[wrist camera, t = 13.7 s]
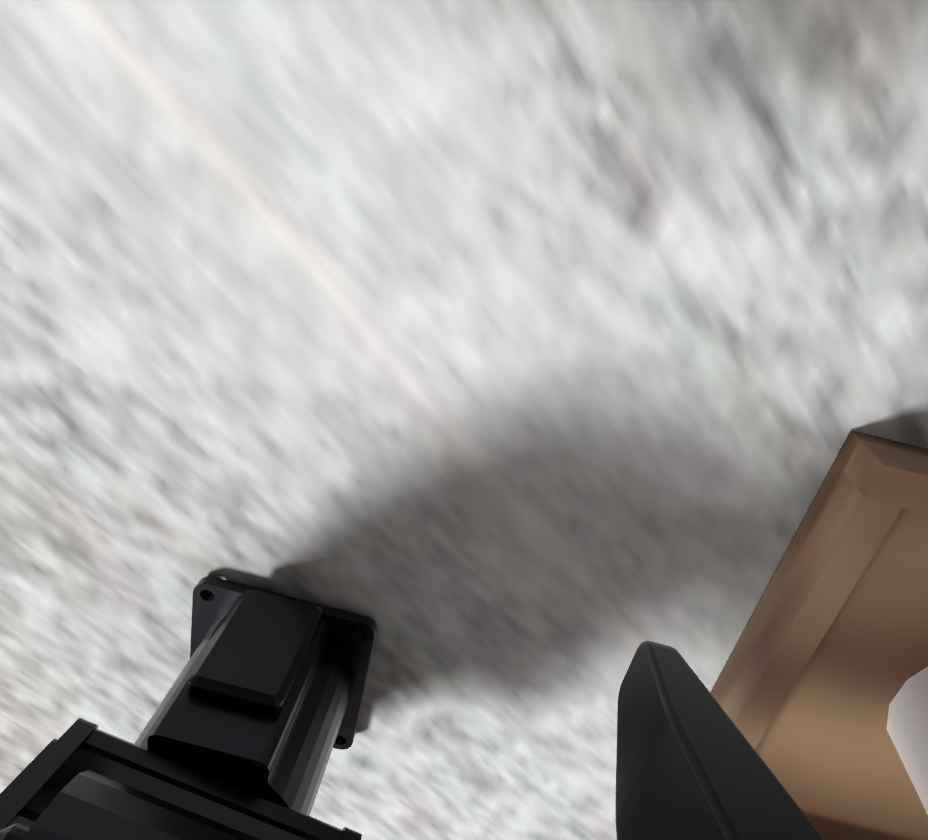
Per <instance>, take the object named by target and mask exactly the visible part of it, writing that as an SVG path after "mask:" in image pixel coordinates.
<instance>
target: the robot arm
mask: <svg viewBox="0 0 928 840" xmlns="http://www.w3.org/2000/svg"><path fill="white" fill-rule="evenodd" d="M207 590H209V591H211V592H212V593H213V594H212V593H209V592H208V591H207ZM358 629H362V630H364V631H366V632H361V631H359V630H358ZM376 632H377V625H376V623H375V622H374V621H373V620H372V619H371V618H369V617H367V616H364V615H360V614H356V613H352V612H348V611H344V610H340V609H336V608H332V607H328V606H325V605H321V604H317V603H313V602H309V601H305V600H301V599H297V598H293V597H289V596H285V595H281V594H277V593H273V592H269V591H266V590H262V589H258V588H254V587H250V586H246V585H242V584H238V583H234V582H230V581H226V580H222V579H218V578H214V577H204V578H202V579H201V580H200V581H199V583H198V584H197V585H196V587H195V588H194V591H193V606H192V629H191V652H190V660H189V661H188V663H187V664H186V666H185V667H184V669H183V671H182V672H181V674H180V675H179V677H178V678H177V680H176V681H175V683H174V684H173V686H172V687H171V689H170V690H169V692H168V693H167V695H166V696H165V698H164V699H163V701H162V702H161V704H160V705H159V707H158V708H157V710H156V711H155V713H154V715H153V716H152V718H151V719H150V721H149V722H148V724H147V725H146V727H145V728H144V730H143V731H142V733H141V734H140V736H139V737H138V739H137V740H136V742H135V743H134V744H132V743H130V742H127V741H125V740H123V739H120V738H118V737H115V736H113V735H110V734H108V733H106V732H103V731H101V730H98V729H97V728H98V725H96V724H93V723H91V722H89V721H86V720H84V719H81V718H79V719H78V720H77V721H76V722H75V723H74V724H73V725H72V726H71V727H70V728H69V729H68V730H67V731H66V732H65V733H64V734H63V735H62V736H61V737H60V738H59V739H58V740H56V739H54V740H52V741H51V742H50V743H49V744H48V745H47V747H46V748H45V749H44V750H43V751H42V752H41V753H40V754H39V755H38V756H37V757H36V758H35V759H34V760H33V761H32V762H31V763H30V764H29V765H28V766H27V767H26V768H25V769H24V770H23V771H22V772H21V773H20V774H19V775H18V776H17V777H16V778H15V779H14V780H13V781H12V782H11V784H10V785H9V786H8V787H7V788H6V789H5V790H4V791H3V792H2V793H1V794H0V840H361V836H362V834H360V833H358V832H355V831H353V830H351V829H348V828H346V827H344V828H343V830H341V829H339V828H336V827H334V826H331V825H329V824H327V823H324V822H322V821H319V820H317V819H314V818H312V817H310V816H309V815H310V812H311V809H312V806H313V804H314V801H315V798H316V795H317V792H318V789H319V786H320V783H321V780H322V777H323V774H324V771H325V769H326V766H327V763H328V760H329V757H330V754H331V751H332V748H336V749H348V748H349V747H351V745H352V743H353V740H354V737H355V733H356V728H357V723H358V718H359V714H360V709H361V704H362V699H363V695H364V690H365V685H366V680H367V675H368V671H369V666H370V661H371V656H372V651H373V647H374V642H375V637H376ZM616 833H617V840H825V839H824V838H823V837H822V835H821V834H820V833H819V831H818V830H817V829H816V828H815V826H814V825H813V824H812V823H811V821H810V820H809V819H808V817H807V816H806V815H805V814H804V812H803V811H802V810H801V808H800V807H799V806H798V805H797V803H796V802H795V801H794V800H793V798H792V797H791V796H790V794H789V793H788V792H787V791H786V789H785V788H784V787H783V785H782V784H781V783H780V782H779V780H778V779H777V778H776V776H775V775H774V774H773V773H772V771H771V770H770V769H769V768H768V766H767V765H766V764H765V762H764V761H763V760H762V759H761V757H760V756H759V755H758V753H757V752H756V751H755V750H754V748H753V747H752V746H751V744H750V743H749V742H748V741H747V739H746V738H745V737H744V736H743V734H742V733H741V732H740V730H739V729H738V728H737V727H736V725H735V724H734V723H733V721H732V720H731V719H730V718H729V716H728V715H727V714H726V712H725V711H724V710H723V709H722V707H721V706H720V705H719V704H718V702H717V701H716V700H715V698H714V697H713V696H712V695H711V693H710V692H709V691H708V689H707V688H706V687H705V686H704V684H703V683H702V682H701V681H700V679H699V678H698V677H697V675H696V674H695V673H694V672H693V670H692V669H691V668H690V666H689V665H688V664H687V663H686V661H685V660H684V659H683V657H682V656H681V655H680V654H679V652H678V651H677V650H676V649H674V648H673V647H670V646H666V645H663V644H659V643H655V642H651V641H645V642H642V643H641V644H640V646H639V647H638V649H637V651H636V653H635V655H634V657H633V660H632V662H631V664H630V666H629V668H628V671H627V673H626V675H625V677H624V679H623V681H622V684H621V687H620V691H619V697H618V719H617V763H616Z"/></svg>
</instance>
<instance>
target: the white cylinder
mask: <svg viewBox="0 0 928 840" xmlns="http://www.w3.org/2000/svg"><path fill="white" fill-rule="evenodd" d="M886 730H887V731H888V733H889V735H890V737H891V739H892V741H893V744H894V746H895V748H896V750H897V752H898V754H899V756H900V758H901V760H902V762H903V764H904V766H905V769H906V771H907V773H908V775H909V777H910V779H911V781H912V783H913V785H914V787H915V789H916V791H917V794H918V796H919V798H920V800H921V802H922V804H923V806H924V808H925V810H926V812H927V814H928V667H926V668H925V669H923V670H921V671H920V672H918V673H917V674H915V675H914V676H912V677H911V678H909V679H908V680H907V681H906V682H905V683H904V685H903V686H902V688H901V689H900V690H899V692H898V693H897V695H896V696H895V697H894V699H893V700H892V701H891V703H890V704H889V712H888V720H887V729H886Z"/></svg>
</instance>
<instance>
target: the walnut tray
mask: <svg viewBox="0 0 928 840" xmlns="http://www.w3.org/2000/svg"><path fill="white" fill-rule="evenodd" d="M926 667H928V449H924V448H920V447H916V446H912V445H908V444H904V443H900V442H896V441H892V440H888V439H884V438H880V437H876V436H871V435H867V434H863V433H859V432H855V431H850V433H849V435H848V437H847V439H846V441H845V442H844V444H843V446H842V448H841V450H840V452H839V454H838V456H837V457H836V459H835V461H834V463H833V465H832V467H831V469H830V470H829V472H828V474H827V476H826V478H825V480H824V482H823V484H822V485H821V487H820V489H819V491H818V493H817V495H816V497H815V498H814V500H813V502H812V504H811V506H810V508H809V510H808V512H807V513H806V515H805V517H804V519H803V521H802V523H801V525H800V526H799V528H798V530H797V532H796V534H795V536H794V538H793V540H792V541H791V543H790V545H789V547H788V549H787V551H786V553H785V554H784V556H783V558H782V560H781V562H780V564H779V566H778V568H777V569H776V571H775V573H774V575H773V577H772V579H771V581H770V582H769V584H768V586H767V588H766V590H765V592H764V594H763V596H762V597H761V599H760V601H759V603H758V605H757V607H756V609H755V610H754V612H753V614H752V616H751V618H750V620H749V622H748V624H747V625H746V627H745V629H744V631H743V633H742V635H741V637H740V638H739V640H738V642H737V644H736V646H735V648H734V650H733V652H732V653H731V655H730V657H729V659H728V661H727V663H726V665H725V667H724V668H723V670H722V672H721V674H720V676H719V678H718V680H717V681H716V683H715V685H714V687H713V689H712V691H711V695H712V696H713V697H714V698H715V700H716V701H717V702H718V704H719V705H720V706H721V707H722V709H723V710H724V711H725V712H726V714H727V715H728V716H729V718H730V719H731V720H732V721H733V723H734V724H735V725H736V727H737V728H738V729H739V730H740V732H741V733H742V734H743V736H744V737H745V738H746V739H747V741H748V742H749V743H750V744H751V746H752V747H753V748H754V750H755V751H756V752H757V753H758V755H759V756H760V757H761V759H762V760H763V761H764V762H765V764H766V765H767V766H768V768H769V769H770V770H771V771H772V773H773V774H774V775H775V776H776V778H777V779H778V780H779V782H780V783H781V784H782V785H783V787H784V788H785V789H786V791H787V792H788V793H789V794H790V796H791V797H792V798H793V800H794V801H795V802H796V803H797V805H798V806H799V807H800V808H801V810H802V811H803V812H804V814H805V815H806V816H807V817H808V819H809V820H810V821H811V823H812V824H813V825H814V826H815V828H816V829H817V830H818V831H819V833H820V834H821V835H822V837H823V838H824V839H825V840H928V814H927V812H926V810H925V808H924V806H923V804H922V802H921V800H920V798H919V796H918V794H917V791H916V789H915V787H914V785H913V783H912V781H911V779H910V777H909V775H908V773H907V771H906V769H905V766H904V764H903V762H902V760H901V758H900V756H899V754H898V752H897V750H896V748H895V746H894V744H893V741H892V739H891V737H890V735H889V733H888V731H887V730H886V729H887V720H888V712H889V704H890V703H891V701H892V700H893V699H894V697H895V696H896V695H897V693H898V692H899V690H900V689H901V688H902V686H903V685H904V683H905V682H906V681H907V680H908V679H909V678H911V677H912V676H914V675H915V674H917V673H918V672H920V671H921V670H923V669H925V668H926Z"/></svg>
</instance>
